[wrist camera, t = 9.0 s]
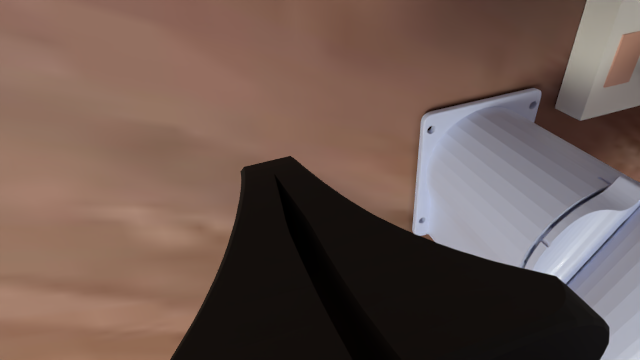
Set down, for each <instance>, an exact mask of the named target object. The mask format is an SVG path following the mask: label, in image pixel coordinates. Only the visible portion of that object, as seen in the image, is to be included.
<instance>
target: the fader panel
mask: <svg viewBox="0 0 640 360" xmlns="http://www.w3.org/2000/svg"><path fill="white" fill-rule="evenodd" d="M636 106H640V0H587V2H586V5H585V8H584V12H583V15H582V18H581V22H580V25H579V28H578V32H577V35H576V38H575V42H574V45H573V48H572V52H571V55H570V58H569V62H568V65H567V68H566V72H565V75H564V78H563V82H562V85H561V88H560V92H559V95H558V98H557V102H556V105H555V109H557V110H559V111H561V112H563V113H565V114H567V115H569V116H571V117H573V118H575V119H577V120H579V121H582V120H586V119H589V118H593V117H597V116H601V115H605V114H609V113H613V112H616V111H620V110H624V109H628V108H632V107H636Z"/></svg>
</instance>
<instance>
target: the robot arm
mask: <svg viewBox="0 0 640 360" xmlns="http://www.w3.org/2000/svg"><path fill="white" fill-rule="evenodd" d="M540 99H541V91H540V90H539V89H537V88H530V89H526V90H521V91H517V92H513V93H508V94H504V95H500V96H495V97H491V98H487V99H482V100H478V101H474V102H469V103H465V104H461V105H456V106H452V107H448V108H443V109H439V110H435V111H430V112H428V113H426V114H425V115H424V116H423V117H422V120H421V129H420V141H419V154H418V166H417V178H416V191H415V203H414V215H413V228H412V231H413V233H414V234H413V233H411V232H409V231H406V230H404V229H402V228H400V227H397V226H395V225H393V224H391V223H389V222H387V221H385V220H383V219H381V218H379V217H377V216H375V215H373V214H372V213H370V212H368V211H366V210H365V209H363V208H361V207H360V206H358V205H356V204H355V203H353V202H351V201H350V200H348V199H347V198H345V197H344V196H342V195H341V194H339V193H338V192H337V191H335V190H334V189H332V188H331V187H330V186H328V185H327V184H325V183H324V182H323V181H321V180H320V179H319V178H317V177H316V176H315V175H314V174H312V173H311V172H310V171H309V170H307V169H306V168H305V167H304V166H302V165H301V164H300V163H299V162H298V161H297V160H295V159H294V158H292V157H291V156H288V157H284V158H280V159H276V160H272V161H267V162H263V163H259V164H255V165H250V166H246V167H244V168H243V169H242V170H241V192H240V200H239V204H238V209H237V214H236V219H235V223H234V226H233V229H232V233H231V236H230V239H229V243H228V246H227V249H226V252H225V254H224V257H223V260H222V262H221V265H220V267H219V270H218V272H217V274H216V277H215V279H214V281H213V283H212V285H211V288H210V290H209V292H208V294H207V296H206V298H205V300H204V302H203V304H202V306H201V308H200V310H199V312H198V314H197V315H196V317H195V319H194V321H193V323H192V324H191V326H190V328H189V329H188V331H187V333H186V334H185V336H184V338H183V339H182V341H181V343H180V344H179V346H178V348H177V349H176V351H175V353H174V354H173V356H172V358H171V359H170V360H640V182H638V181H635V180H633V179H632V178H630V177H628V176H626V175H625V174H623V173H621V172H619V171H618V170H616V169H614V168H612V167H611V166H609V165H607V164H605V163H604V162H602V161H600V160H598V159H597V158H595V157H593V156H591V155H590V154H588V153H586V152H584V151H582V150H581V149H579V148H577V147H575V146H574V145H572V144H570V143H568V142H567V141H565V140H563V139H561V138H560V137H558V136H556V135H554V134H553V133H551V132H549V131H547V130H546V129H544V128H542V127H540V126H539V125H537V124H535V123H534V121H535V117H536V114H537V110H538V106H539V103H540ZM530 104H531V105H530ZM430 126H432V127H431V129H430V130H428V128H429V127H430ZM427 130H428V131H427ZM425 234H429V235H430V236H431V238H432V239H433V240H434V241H435V242H434V241H431V240H428V239H426V238H423V237H421V236H422V235H425Z"/></svg>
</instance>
